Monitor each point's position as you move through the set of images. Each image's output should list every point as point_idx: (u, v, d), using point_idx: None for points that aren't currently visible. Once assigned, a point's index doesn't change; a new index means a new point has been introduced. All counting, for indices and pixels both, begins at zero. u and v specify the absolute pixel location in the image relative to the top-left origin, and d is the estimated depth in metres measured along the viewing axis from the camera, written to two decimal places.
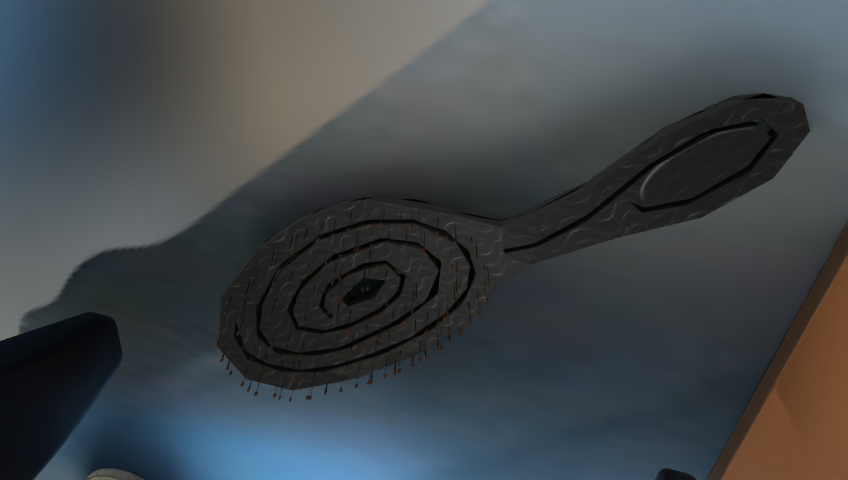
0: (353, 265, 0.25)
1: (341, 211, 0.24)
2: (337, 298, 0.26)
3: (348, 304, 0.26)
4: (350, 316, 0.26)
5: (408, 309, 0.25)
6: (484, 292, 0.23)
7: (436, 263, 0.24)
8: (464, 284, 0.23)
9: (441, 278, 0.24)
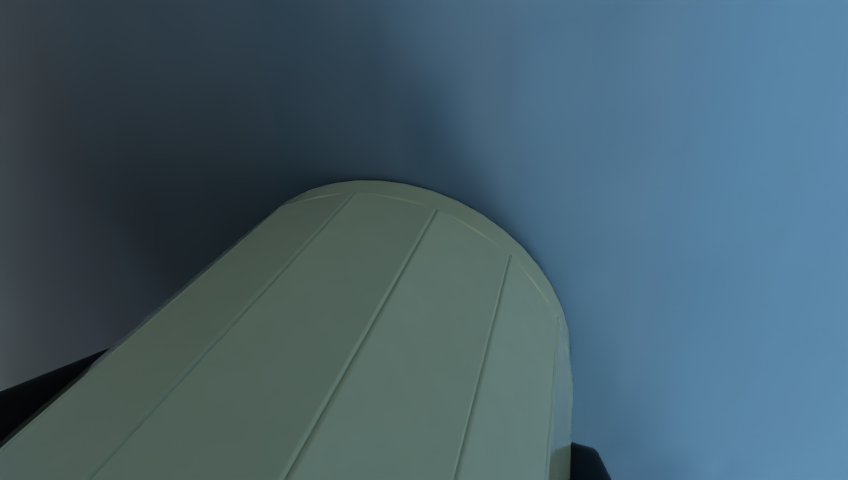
0: None
1: None
2: None
3: None
4: None
5: None
6: None
7: None
8: None
9: None
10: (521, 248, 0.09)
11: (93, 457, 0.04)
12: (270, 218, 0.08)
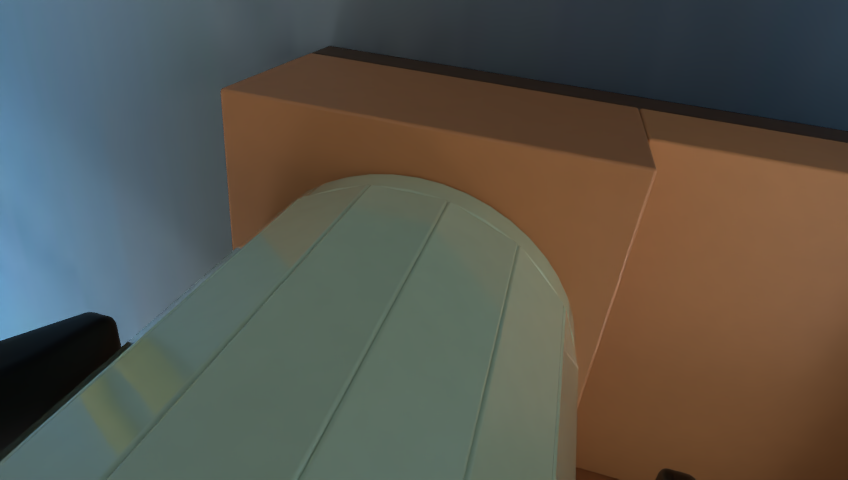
0: None
1: None
2: None
3: None
4: None
5: None
6: None
7: None
8: None
9: None
10: (528, 239, 0.09)
11: (142, 421, 0.04)
12: (288, 210, 0.08)
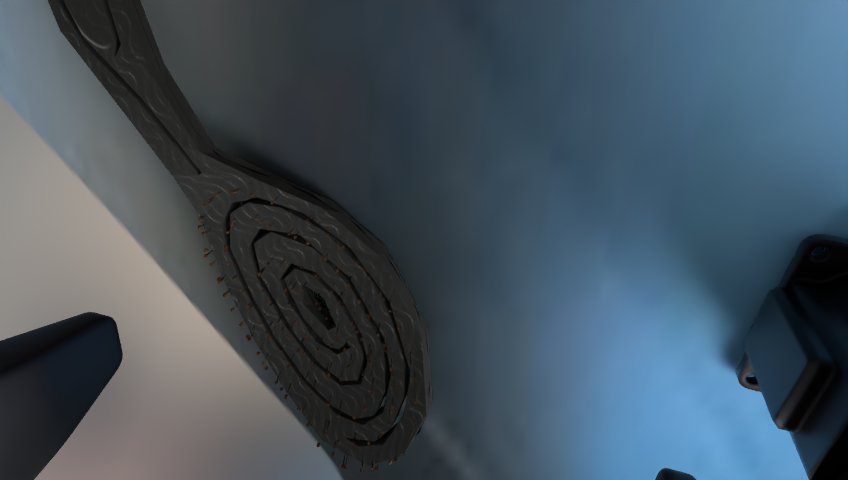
0: (291, 310, 0.25)
1: (241, 308, 0.25)
2: (327, 334, 0.24)
3: (337, 324, 0.24)
4: (346, 326, 0.24)
5: (328, 267, 0.23)
6: (272, 190, 0.21)
7: (269, 232, 0.23)
8: (275, 209, 0.22)
9: (279, 230, 0.23)
10: None
11: None
12: None
